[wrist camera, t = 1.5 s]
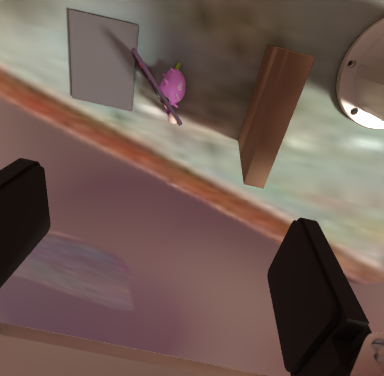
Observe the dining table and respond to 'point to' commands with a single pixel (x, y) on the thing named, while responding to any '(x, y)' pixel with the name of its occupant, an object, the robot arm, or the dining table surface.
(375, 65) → the robot arm
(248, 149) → the screen
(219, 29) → the dining table surface
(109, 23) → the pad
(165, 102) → the pink radish toy
